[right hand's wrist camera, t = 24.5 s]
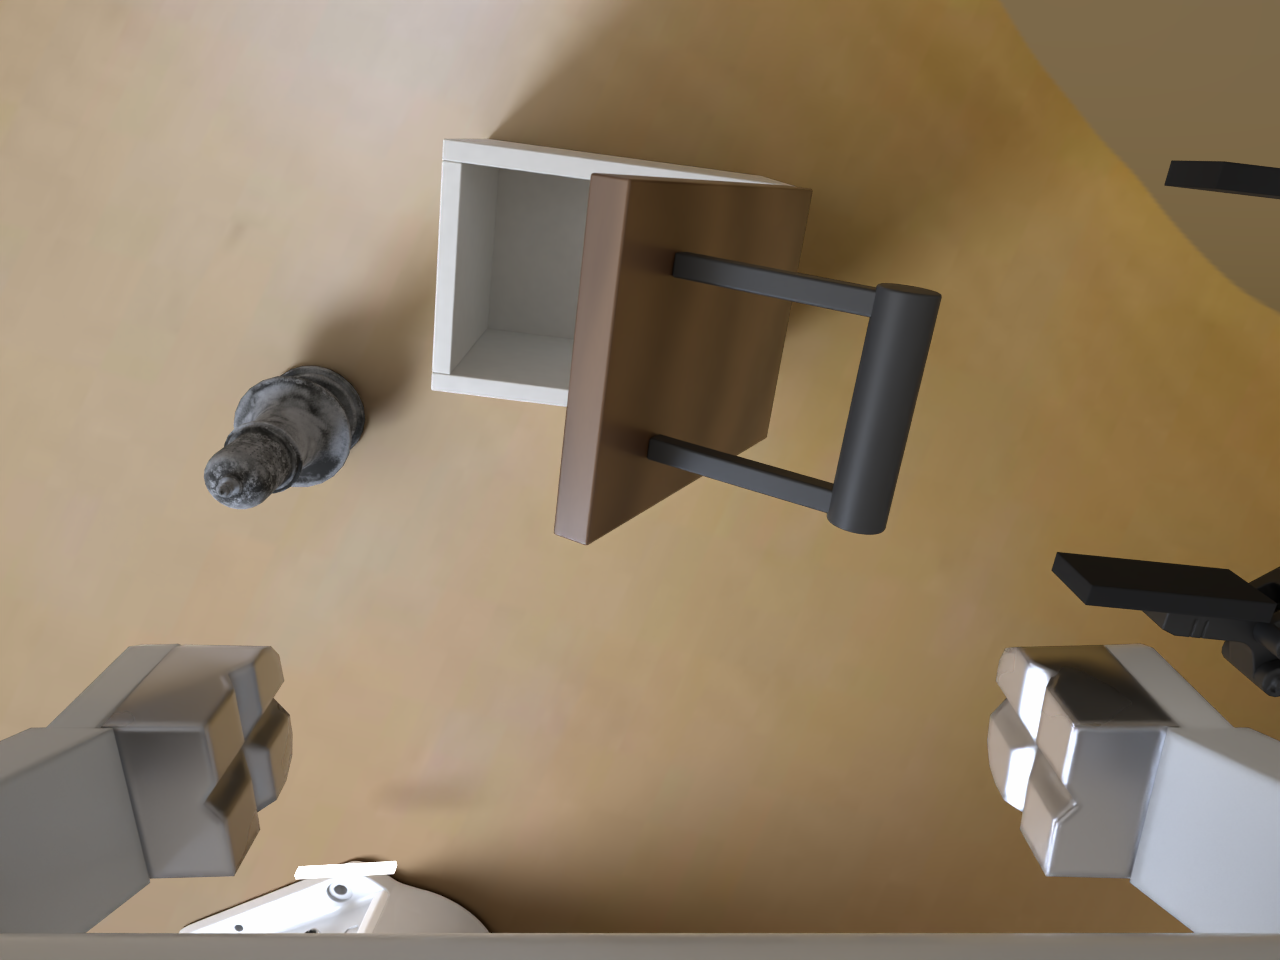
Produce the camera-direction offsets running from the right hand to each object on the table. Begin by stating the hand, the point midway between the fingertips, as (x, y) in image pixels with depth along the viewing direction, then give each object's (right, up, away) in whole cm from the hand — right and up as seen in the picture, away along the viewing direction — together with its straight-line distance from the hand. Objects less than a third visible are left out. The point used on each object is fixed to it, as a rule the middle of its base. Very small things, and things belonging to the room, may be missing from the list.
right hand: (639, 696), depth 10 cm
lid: (+1, +7, +20) cm, 21 cm away
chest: (-1, +14, +36) cm, 39 cm away
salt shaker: (-18, +6, +39) cm, 43 cm away
